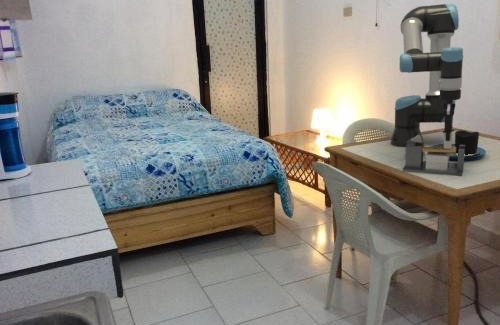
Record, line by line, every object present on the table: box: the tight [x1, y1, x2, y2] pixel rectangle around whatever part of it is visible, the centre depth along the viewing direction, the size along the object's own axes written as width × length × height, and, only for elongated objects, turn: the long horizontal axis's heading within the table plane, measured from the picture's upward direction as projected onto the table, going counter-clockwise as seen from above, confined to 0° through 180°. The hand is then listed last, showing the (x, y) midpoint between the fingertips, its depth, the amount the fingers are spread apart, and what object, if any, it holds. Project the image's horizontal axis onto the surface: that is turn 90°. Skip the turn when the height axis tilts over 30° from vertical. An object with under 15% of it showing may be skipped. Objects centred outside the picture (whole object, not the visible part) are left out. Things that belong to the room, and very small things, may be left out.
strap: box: [422, 146, 456, 153], centre depth 177 cm, size 15×4×1 cm, turn 63°
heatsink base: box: [402, 141, 465, 177], centre depth 178 cm, size 22×13×10 cm, turn 63°
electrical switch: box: [406, 135, 426, 156], centre depth 196 cm, size 9×5×9 cm, turn 141°
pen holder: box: [454, 129, 480, 155], centre depth 193 cm, size 9×9×10 cm
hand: (447, 148), depth 175 cm, fingers closed
